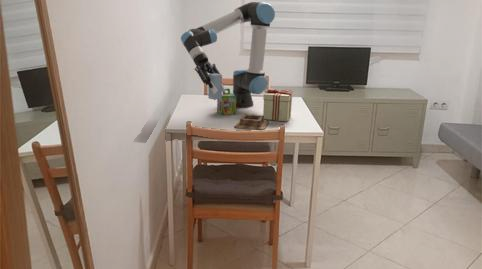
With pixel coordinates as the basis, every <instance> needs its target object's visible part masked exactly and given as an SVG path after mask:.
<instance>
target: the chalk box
mask: <svg viewBox="0 0 482 269" xmlns="http://www.w3.org/2000/svg"><path fill="white" fill-rule="evenodd" d="M230 89H231V88H225V91H224V92H222V98H221V99H217V100H216V105H217V106H216V109H217V110H216V112H217V113H219V114H220V115H222V116H226V115H228V116H229V115H236V112H237V111H236V109H237V107H236V96H235V95H234V94H233V92H232V93H231V90H230ZM226 91H227V92H226Z"/></svg>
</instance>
